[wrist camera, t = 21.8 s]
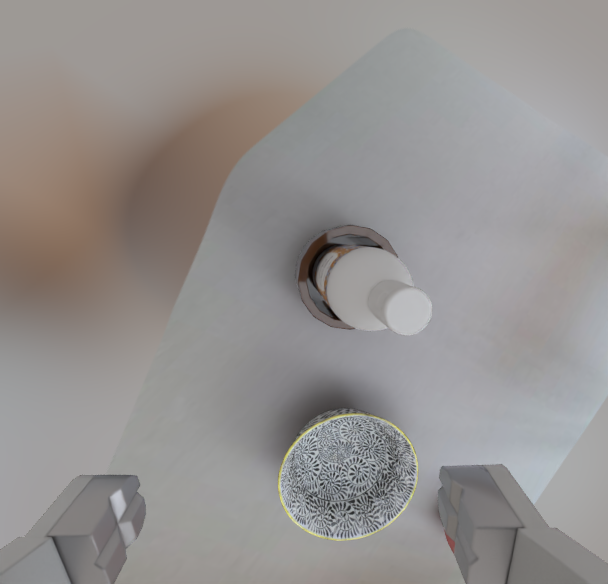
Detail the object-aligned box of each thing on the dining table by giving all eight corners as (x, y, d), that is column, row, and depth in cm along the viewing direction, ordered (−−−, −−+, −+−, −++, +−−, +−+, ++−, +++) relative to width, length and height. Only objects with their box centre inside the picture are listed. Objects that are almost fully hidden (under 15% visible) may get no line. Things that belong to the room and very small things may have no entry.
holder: (278, 287, 38) (278, 296, 32) (325, 210, 37) (335, 204, 31) (351, 330, 40) (364, 346, 34) (398, 258, 39) (420, 261, 33)
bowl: (340, 359, 40) (355, 386, 33) (417, 434, 43) (446, 475, 36) (253, 441, 41) (248, 485, 34) (334, 510, 44) (345, 565, 37)
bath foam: (324, 235, 37) (379, 232, 17) (377, 256, 38) (486, 278, 18) (303, 289, 38) (331, 346, 18) (355, 309, 39) (435, 383, 19)
